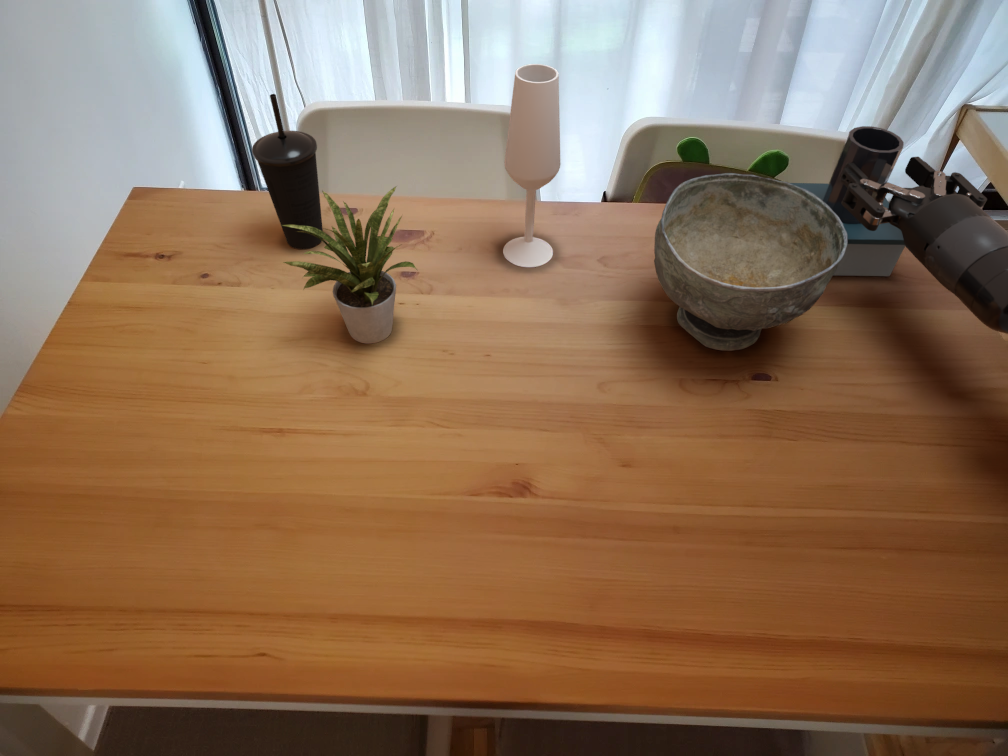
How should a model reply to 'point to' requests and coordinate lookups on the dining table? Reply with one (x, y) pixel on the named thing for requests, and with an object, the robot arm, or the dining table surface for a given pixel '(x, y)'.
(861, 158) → the cup
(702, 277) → the bowl
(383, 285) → the house plant
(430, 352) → the dining table surface
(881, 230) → the container
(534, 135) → the champagne flute
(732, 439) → the dining table surface
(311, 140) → the drinking cup
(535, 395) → the dining table surface
